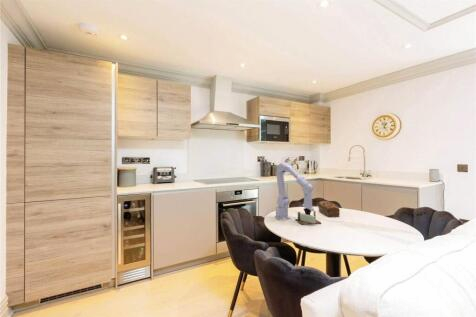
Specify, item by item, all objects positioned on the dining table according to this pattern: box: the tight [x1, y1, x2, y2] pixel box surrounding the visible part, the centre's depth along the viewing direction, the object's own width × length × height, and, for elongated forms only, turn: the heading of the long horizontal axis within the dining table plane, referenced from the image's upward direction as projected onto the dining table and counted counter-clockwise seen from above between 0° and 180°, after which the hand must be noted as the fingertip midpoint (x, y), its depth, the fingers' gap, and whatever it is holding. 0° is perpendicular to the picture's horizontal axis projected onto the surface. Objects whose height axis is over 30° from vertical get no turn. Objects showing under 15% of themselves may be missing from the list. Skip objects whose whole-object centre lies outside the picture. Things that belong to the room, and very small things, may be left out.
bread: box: [317, 200, 340, 218], centre depth 191 cm, size 19×11×10 cm, turn 2°
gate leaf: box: [300, 212, 315, 223], centre depth 167 cm, size 11×2×5 cm, turn 43°
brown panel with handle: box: [294, 210, 322, 226], centre depth 171 cm, size 16×12×7 cm
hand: (307, 218), depth 169 cm, fingers closed, pressing on gate leaf
